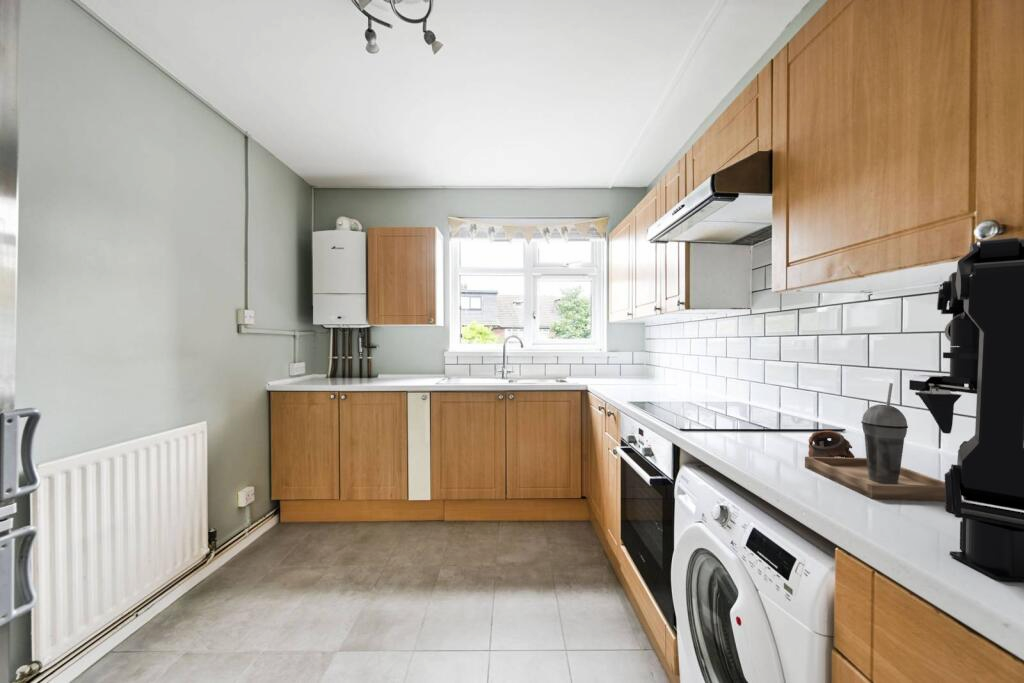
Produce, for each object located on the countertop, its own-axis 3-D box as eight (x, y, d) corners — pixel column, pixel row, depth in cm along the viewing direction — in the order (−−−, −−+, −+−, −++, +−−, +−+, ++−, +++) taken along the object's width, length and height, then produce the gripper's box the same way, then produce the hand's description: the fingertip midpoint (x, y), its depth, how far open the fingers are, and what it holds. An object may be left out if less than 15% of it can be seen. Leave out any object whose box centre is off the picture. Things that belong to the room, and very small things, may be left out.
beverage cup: (851, 474, 92) (853, 380, 92) (889, 476, 91) (891, 381, 91) (875, 485, 85) (877, 384, 85) (917, 488, 84) (918, 385, 84)
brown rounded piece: (868, 468, 103) (858, 439, 101) (828, 483, 104) (818, 455, 102) (833, 443, 114) (823, 417, 112) (797, 457, 115) (788, 432, 114)
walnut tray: (961, 501, 80) (961, 488, 80) (871, 498, 81) (871, 485, 81) (876, 469, 100) (876, 458, 100) (804, 467, 101) (804, 456, 101)
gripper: (1097, 348, 63) (1094, 455, 63) (968, 346, 82) (967, 428, 82) (1016, 347, 64) (1014, 453, 64) (907, 346, 82) (906, 427, 83)
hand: (972, 439), depth 73 cm, fingers open, 9 cm apart
